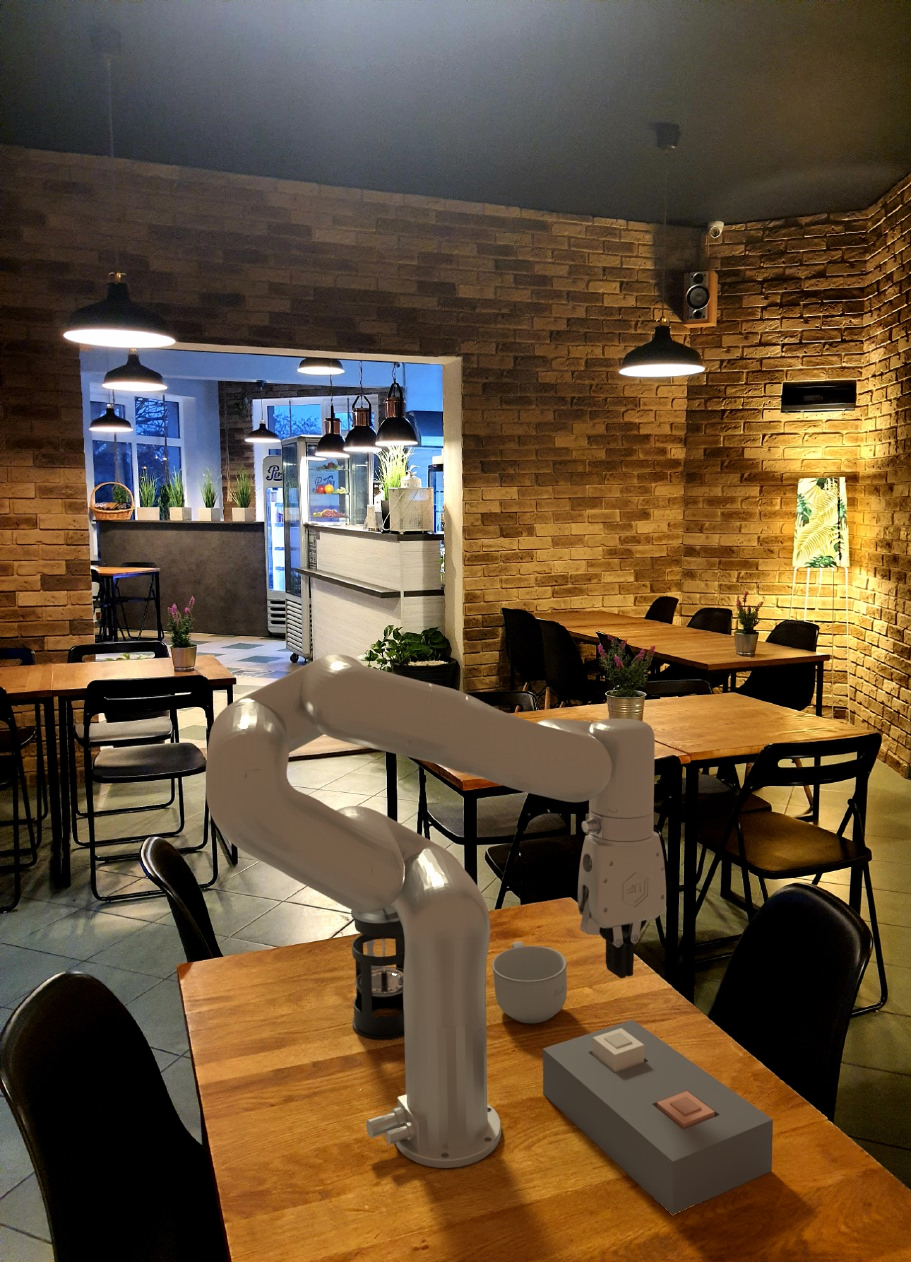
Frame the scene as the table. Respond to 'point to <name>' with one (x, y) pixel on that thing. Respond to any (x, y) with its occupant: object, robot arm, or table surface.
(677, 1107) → the key terracotta
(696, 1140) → the key console
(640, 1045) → the key ivory
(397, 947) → the french press
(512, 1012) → the teacup
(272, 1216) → the table surface
